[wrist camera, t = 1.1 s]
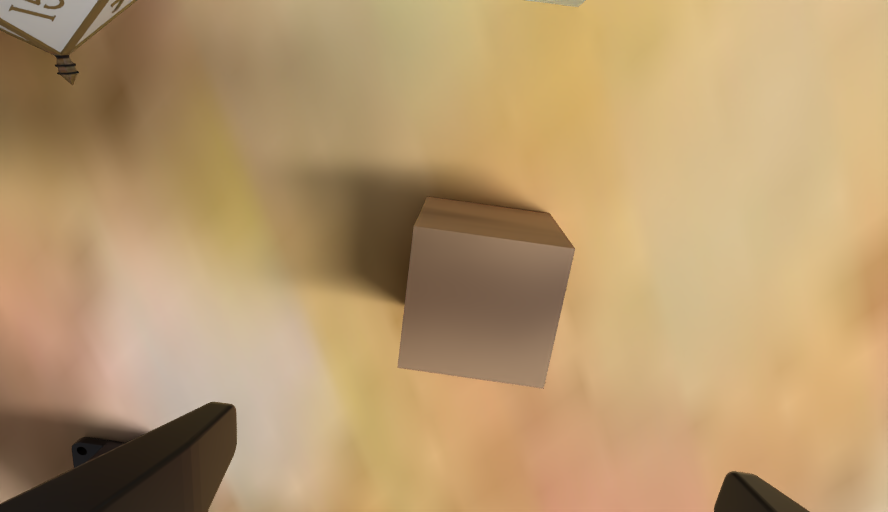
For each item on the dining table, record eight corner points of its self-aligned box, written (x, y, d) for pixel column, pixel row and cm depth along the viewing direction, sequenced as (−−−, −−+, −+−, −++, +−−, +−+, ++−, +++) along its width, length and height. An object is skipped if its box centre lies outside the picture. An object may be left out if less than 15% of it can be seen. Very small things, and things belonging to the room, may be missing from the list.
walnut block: (527, 323, 21) (543, 388, 16) (413, 308, 21) (397, 367, 16) (549, 213, 20) (575, 248, 15) (427, 195, 20) (413, 226, 15)
